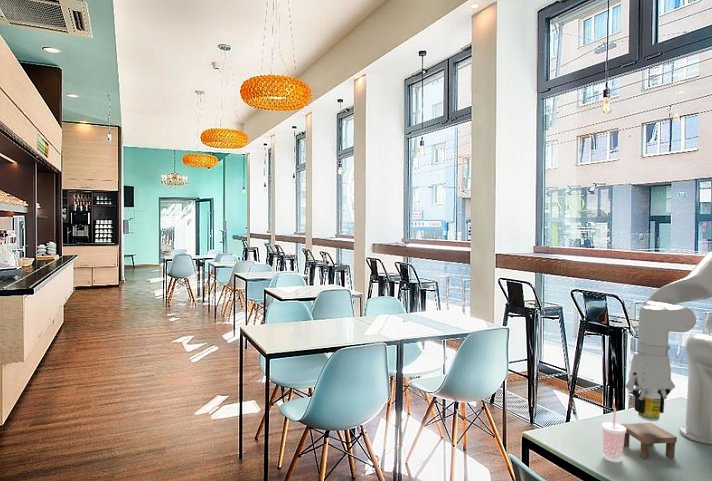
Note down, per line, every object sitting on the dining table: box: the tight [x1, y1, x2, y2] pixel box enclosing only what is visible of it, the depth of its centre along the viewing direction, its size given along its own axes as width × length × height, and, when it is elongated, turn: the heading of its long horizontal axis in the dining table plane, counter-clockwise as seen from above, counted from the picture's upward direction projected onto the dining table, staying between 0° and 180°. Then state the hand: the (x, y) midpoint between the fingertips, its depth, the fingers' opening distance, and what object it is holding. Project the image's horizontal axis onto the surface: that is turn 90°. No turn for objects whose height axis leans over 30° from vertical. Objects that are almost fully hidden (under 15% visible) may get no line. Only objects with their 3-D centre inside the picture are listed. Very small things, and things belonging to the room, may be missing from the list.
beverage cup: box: [601, 408, 626, 463], centre depth 141 cm, size 6×6×14 cm
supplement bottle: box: [637, 388, 661, 422], centre depth 146 cm, size 5×5×10 cm
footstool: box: [620, 422, 678, 460], centre depth 147 cm, size 10×10×6 cm
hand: (648, 411), depth 146 cm, fingers closed on supplement bottle, 5 cm apart
